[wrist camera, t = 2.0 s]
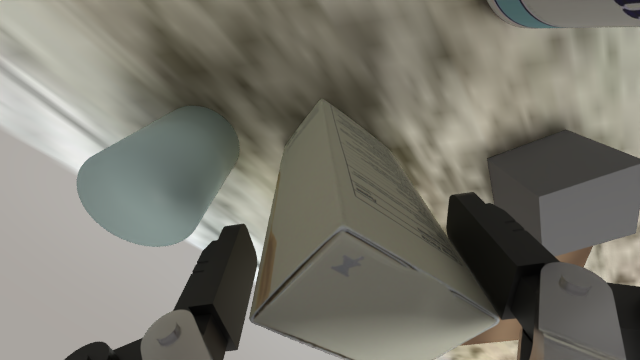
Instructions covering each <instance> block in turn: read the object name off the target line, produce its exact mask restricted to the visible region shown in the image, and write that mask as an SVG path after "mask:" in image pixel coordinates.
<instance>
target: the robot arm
mask: <svg viewBox="0 0 640 360" xmlns="http://www.w3.org/2000/svg"><path fill="white" fill-rule="evenodd" d="M446 228H447V235H448V238H449V240H450V242H451V244H452V245H453V247H454V248H455V250H456V251H457V253H458V254H459V256H460V257H461V259H462V261H463V262H464V264H465V265H466V267H467V268H468V270H469V271H470V273H471V274H472V276H473V277H474V279H475V280H476V282H477V283H478V285H479V286H480V288H481V289H482V291H483V292H484V294H485V296H486V297H487V299H488V300H489V302H490V303H491V305H492V306H493V308H494V309H495V311H496V312H497V314H498V315H499V317H500V318H501V320H507V319H517V320H518V322H519V323H520V325H521V329H520V333H519V343H518V354H517V360H640V287H638V286H630V285H622V284H613V283H606V282H605V281H604V280H603V279H602V278H601V277H599V276H598V275H596V274H595V273H593V272H591V271H590V270H587V269H585V268H583V267H580V266H577V265H574V264H570V263H564V262H560V261H559V260H558V259H557V258H556V257H555V256H554V255H552V254H551V253H550V252H549V251H548V250H547V249H546V248H545V247H544V246H543V245H542V244H541V243H539V242H538V241H537V240H536V239H535V238H534V237H533V236H532V235H531V234H530V233H529V232H528V231H527V230H526V231H525V230H524V228H523V227H522V226H521V225H520V224H519V223H518V222H516V221H515V219H514V218H513V217H511V216H510V215H509V214H508V213H507V212H506V211H505V210H503V209H501V208H499V207H497V206H495V205H493V204H491V203H488V204H485V203H484V202H483V201H482V200H481V199H480V198H479V197H478V196H477V195H476V194H475V193H474V192H469V193H462V194H455V195H451V196H450V198H449V206H448V216H447V227H446ZM256 268H257V256H256V251H255V249H254V246H253V243H252V240H251V238H250V235H249V232H248V229H247V227H246V225H245V224H238V225H231V226H225V227H224V228H223V230H222V232H221V234H220V236H219V239H218V240H216V241H212V242H211V243H210V244H209V245H208V246H207V247H206V248H205V249H204V250H203V251H202V253H201V256H200V258H199V259H198V261H197V265H196V266H195V268H194V270H193V274H191V276H190V278H189V280H188V282H187V284H186V286H185V288H184V290H183V292H182V294H181V296H180V298H179V300H178V302H177V304H176V306H175V308H174V310H173V311H172V312H170V313H167V314H166V315H164V316H162V317H161V318H159V319H158V320H157V321H156V322H154V323H153V324H152V325H151V327H150V328H149V329H148V330H147V332H146V333H145V335H144V337H143V338H141V339H139V340H137V341H134V342H132V343H129V344H127V345H125V346H122V347H120V348H117V349H115V350H112V349H111V348H110V347H109V346H108V345H107V344H106V343H104V342H94V343H90V344H88V345H85V346H83V347H81V348H80V349H78V350H76V351H75V352H73V353H72V354H71V355H69V356H68V357H67V358H66V359H65V360H223V358H224V355H225V351H233V350H238V346H239V341H240V337H241V333H242V328H243V324H244V320H245V315H246V311H247V307H248V303H249V298H250V294H251V289H252V285H253V281H254V277H255V272H256Z"/></svg>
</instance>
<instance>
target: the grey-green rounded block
mask: <svg viewBox="0 0 640 360" xmlns="http://www.w3.org/2000/svg"><path fill="white" fill-rule="evenodd" d="M238 156H239V141H238V137H237V135H236V133H235V131H234V129H233V127H232V126H231V125H230V123H229V122H228V121H227V120H226V119H225V118H224V117H222V116H221V115H220V114H218V113H217V112H215V111H213V110H211V109H208V108H205V107H201V106H184V107H181V108H178V109H176V110H174V111H172V112H171V113H169V114H167V115H165V116H164V117H162V118H160V119H158V120H156V121H155V122H153V123H151V124H149V125H147V126H146V127H144V128H142V129H140V130H138V131H137V132H135V133H133V134H131V135H129V136H128V137H126V138H124V139H122V140H120V141H119V142H117V143H115V144H113V145H111V146H110V147H108V148H106V149H104V150H102V151H101V152H99V153H97V154H95V155H94V156H92V157H90V158H89V159H88V160H87V161H86V162H85V163H84V164H83V165H82V167H81V168H80V170H79V173H78V177H77V191H78V194H79V198H80V200H81V202H82V204H83V206H84V207H85V209H86V211H87V212H88V213H89V215H90V216H91V217H92V218H93V219H94V220H95V221H96V222H97V223H98V224H99V225H100V226H102V227H103V228H104V229H106V230H107V231H108V232H110V233H112V234H113V235H115V236H117V237H119V238H121V239H124V240H126V241H129V242H132V243H135V244H139V245H144V246H152V247H155V246H156V247H160V246H168V245H173V244H176V243H179V242H181V241H183V240H184V239H186V238H187V237H189V236H190V235H191V234H192V233H193V231H194V230H195V228H196V227H197V225H198V224H199V222H200V220H201V219H202V217H203V215H204V214H205V212H206V211H207V209H208V207H209V206H210V204H211V202H212V201H213V199H214V197H215V196H216V194H217V193H218V191H219V189H220V188H221V186H222V184H223V183H224V181H225V180H226V178H227V176H228V175H229V173H230V171H231V170H232V168H233V167H234V165H235V163H236V161H237V159H238Z"/></svg>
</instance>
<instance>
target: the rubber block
mask: <svg viewBox="0 0 640 360" xmlns="http://www.w3.org/2000/svg"><path fill="white" fill-rule="evenodd" d="M487 161H488V167H489V173H490V180H491V186H492V192H493V198H494V205H495V206H497V207H499V208H501V209H503V210H505V211H506V212H507V213H508V214H509V215H510V216H511V217H513V218H514V219H515V221H516V222H518V223H519V224H520V225H521V226H522V227H523V228H524V230H525V231H526V230H527V231H528V232H529V233H530V234H531V235H532V236H533V237H534V238H535V239H536V240H537V241H538V242H539V243H541V244H542V245H543V246H544V247H545V248H546V249H547V250H548V251H549V252H550V253H551V254H552V255H554V256H559V255H562V254H566V253H569V252H573V251H576V250H579V249H583V248H586V247H590V246H593V245H597V244H600V243H604V242H607V241H611V240H614V239H618V238H621V237H625V236H628V235H632V234H635V233H636V229H637V222H638V216H639V210H640V158H637V157H634V156H632V155H629V154H627V153H624V152H622V151H619V150H617V149H614V148H611V147H609V146H606V145H604V144H601V143H599V142H596V141H594V140H591V139H588V138H586V137H583V136H581V135H578V134H576V133H573V132H571V131H568V130H564V131H561V132H558V133H556V134H553V135H550V136H548V137H545V138H542V139H539V140H537V141H534V142H531V143H529V144H526V145H523V146H520V147H518V148H515V149H512V150H509V151H507V152H504V153H501V154H499V155H496V156H493V157H490V158H488V159H487Z"/></svg>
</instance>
